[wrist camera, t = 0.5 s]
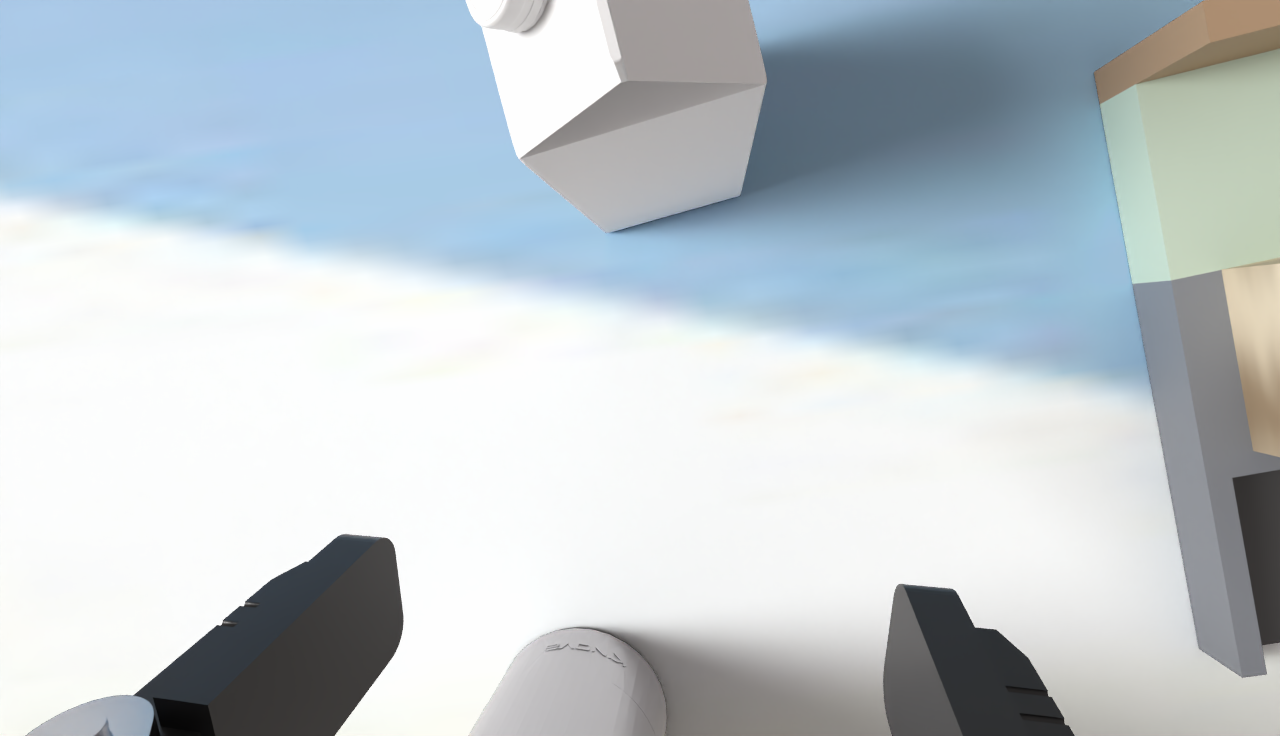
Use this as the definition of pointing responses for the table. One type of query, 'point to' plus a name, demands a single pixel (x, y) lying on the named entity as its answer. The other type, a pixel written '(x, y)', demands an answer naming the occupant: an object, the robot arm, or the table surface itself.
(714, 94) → the milk carton
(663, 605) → the table surface
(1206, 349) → the trap deck
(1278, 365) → the beech block
